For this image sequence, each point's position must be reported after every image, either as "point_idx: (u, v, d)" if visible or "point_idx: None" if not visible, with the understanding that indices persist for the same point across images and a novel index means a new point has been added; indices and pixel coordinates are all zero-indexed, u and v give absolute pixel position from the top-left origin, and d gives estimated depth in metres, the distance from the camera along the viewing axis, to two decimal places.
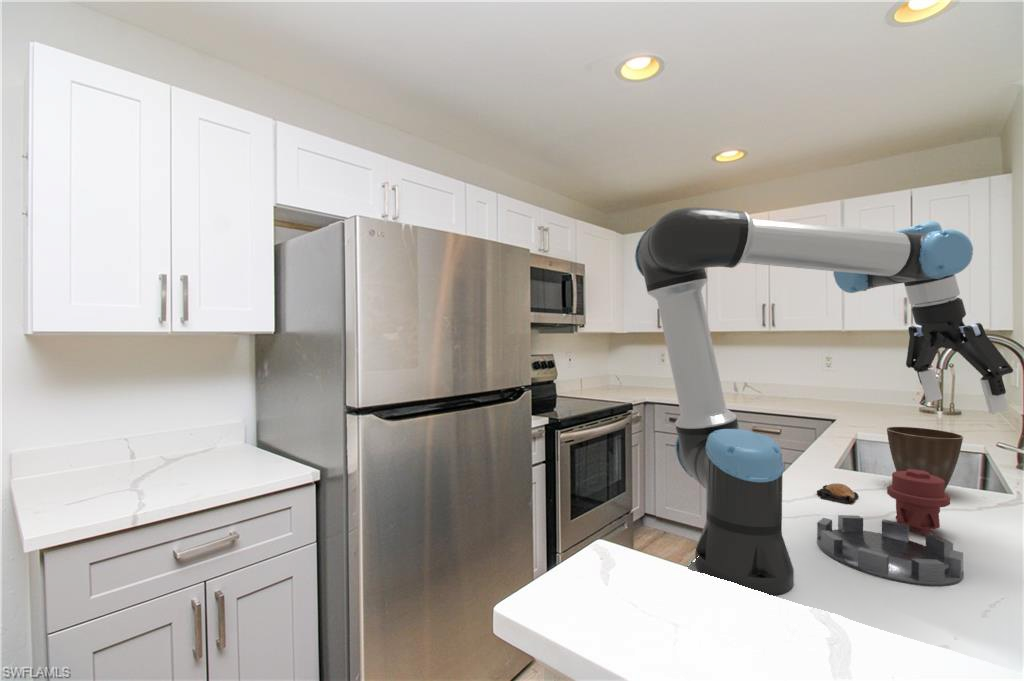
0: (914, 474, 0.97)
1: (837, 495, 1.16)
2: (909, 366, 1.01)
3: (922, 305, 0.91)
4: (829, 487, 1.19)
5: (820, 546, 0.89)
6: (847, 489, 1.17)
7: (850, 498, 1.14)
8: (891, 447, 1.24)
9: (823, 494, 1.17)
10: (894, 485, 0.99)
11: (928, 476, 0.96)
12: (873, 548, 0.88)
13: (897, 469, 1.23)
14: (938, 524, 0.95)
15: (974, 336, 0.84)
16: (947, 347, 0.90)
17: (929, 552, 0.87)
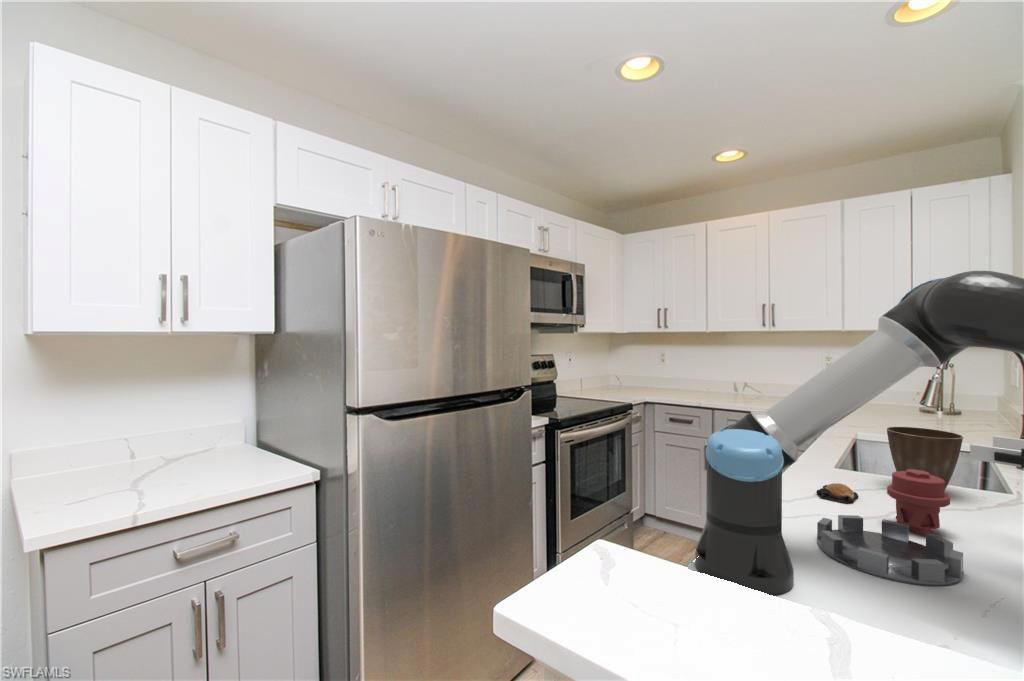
0: (914, 474, 0.97)
1: (836, 495, 1.16)
2: None
3: None
4: (829, 487, 1.19)
5: (820, 546, 0.89)
6: (847, 489, 1.17)
7: (849, 498, 1.14)
8: (891, 447, 1.24)
9: (822, 494, 1.18)
10: (894, 485, 0.99)
11: (928, 476, 0.96)
12: (873, 548, 0.88)
13: (897, 469, 1.23)
14: (938, 524, 0.95)
15: None
16: None
17: (929, 552, 0.87)
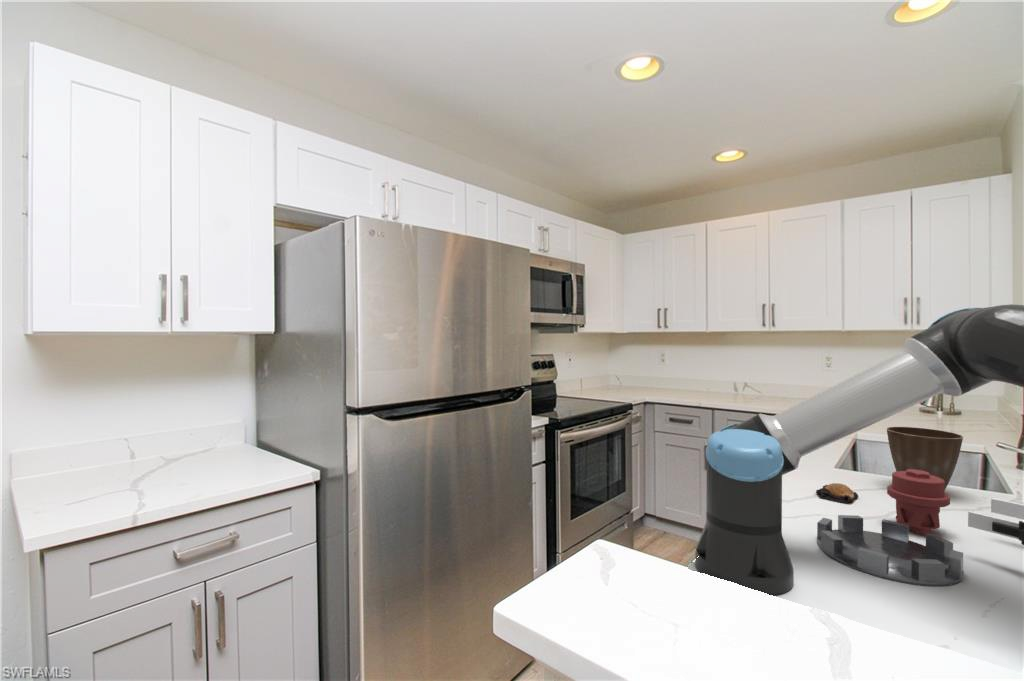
0: (914, 474, 0.97)
1: (836, 495, 1.16)
2: None
3: None
4: (828, 487, 1.19)
5: (820, 546, 0.89)
6: (846, 489, 1.17)
7: (849, 498, 1.14)
8: (891, 447, 1.24)
9: (822, 494, 1.18)
10: (894, 485, 0.99)
11: (928, 476, 0.96)
12: (873, 548, 0.88)
13: (897, 469, 1.23)
14: (938, 524, 0.95)
15: None
16: None
17: (929, 552, 0.87)
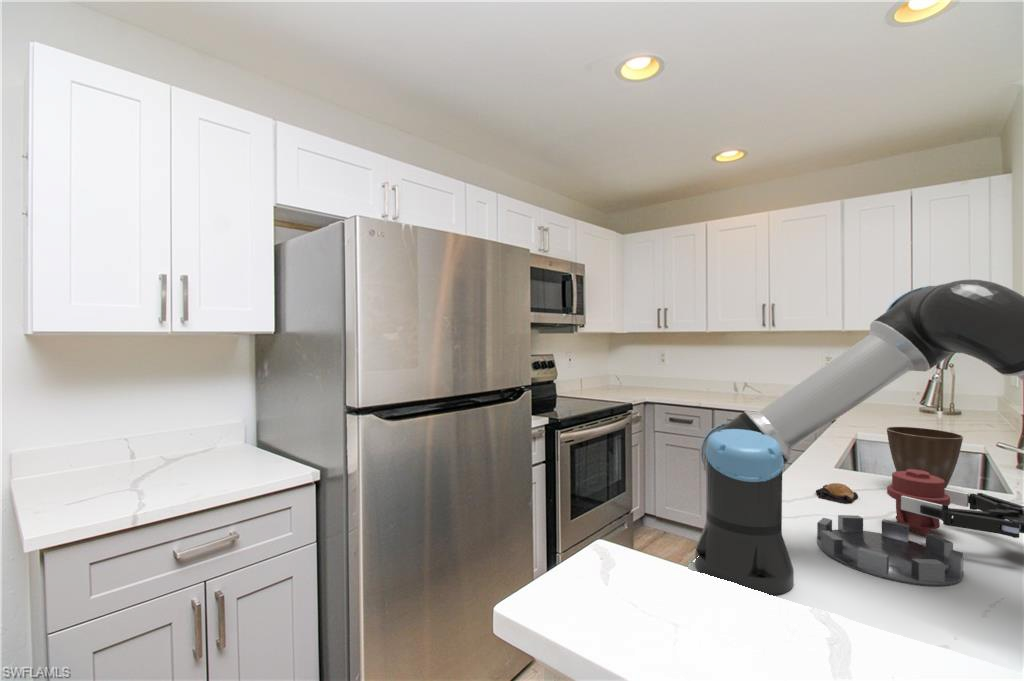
0: (914, 474, 0.97)
1: (835, 495, 1.16)
2: (978, 493, 0.97)
3: None
4: (828, 487, 1.19)
5: (820, 546, 0.89)
6: (846, 489, 1.17)
7: (848, 498, 1.14)
8: (891, 447, 1.24)
9: (821, 493, 1.18)
10: (894, 485, 0.99)
11: (928, 476, 0.96)
12: (873, 548, 0.88)
13: (897, 469, 1.23)
14: (938, 524, 0.95)
15: (1001, 523, 0.83)
16: None
17: (929, 552, 0.87)
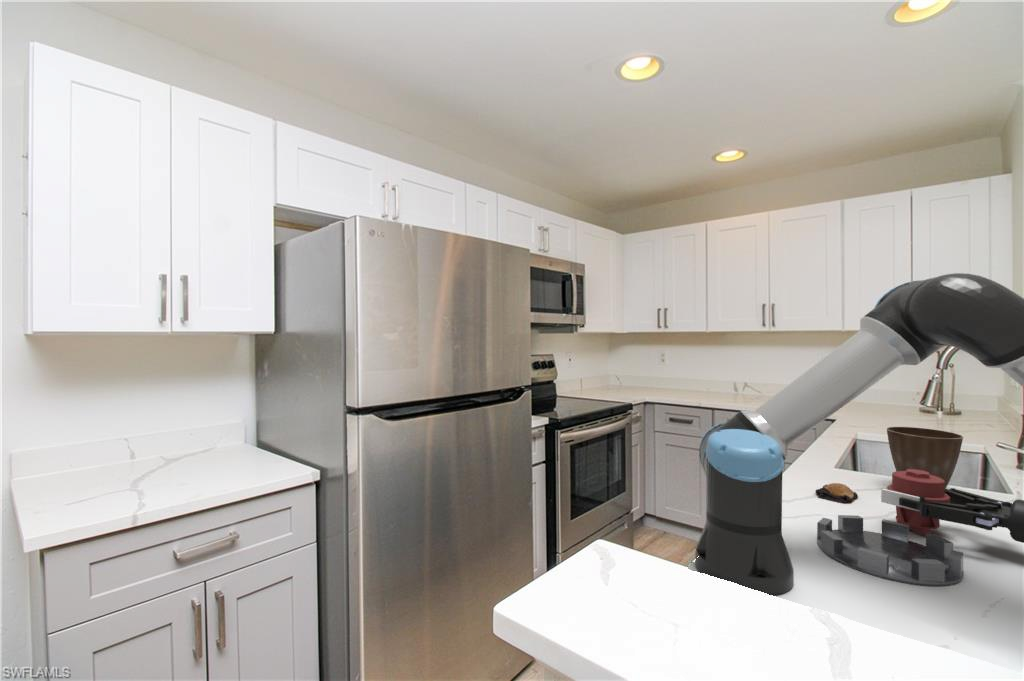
0: (914, 474, 0.97)
1: (835, 495, 1.17)
2: (951, 489, 0.99)
3: None
4: (828, 486, 1.19)
5: (820, 546, 0.89)
6: (846, 489, 1.17)
7: (848, 498, 1.14)
8: (891, 447, 1.24)
9: (821, 493, 1.18)
10: (894, 485, 0.99)
11: (928, 476, 0.96)
12: (873, 548, 0.88)
13: (897, 469, 1.23)
14: (938, 524, 0.95)
15: (975, 515, 0.86)
16: None
17: (929, 552, 0.87)
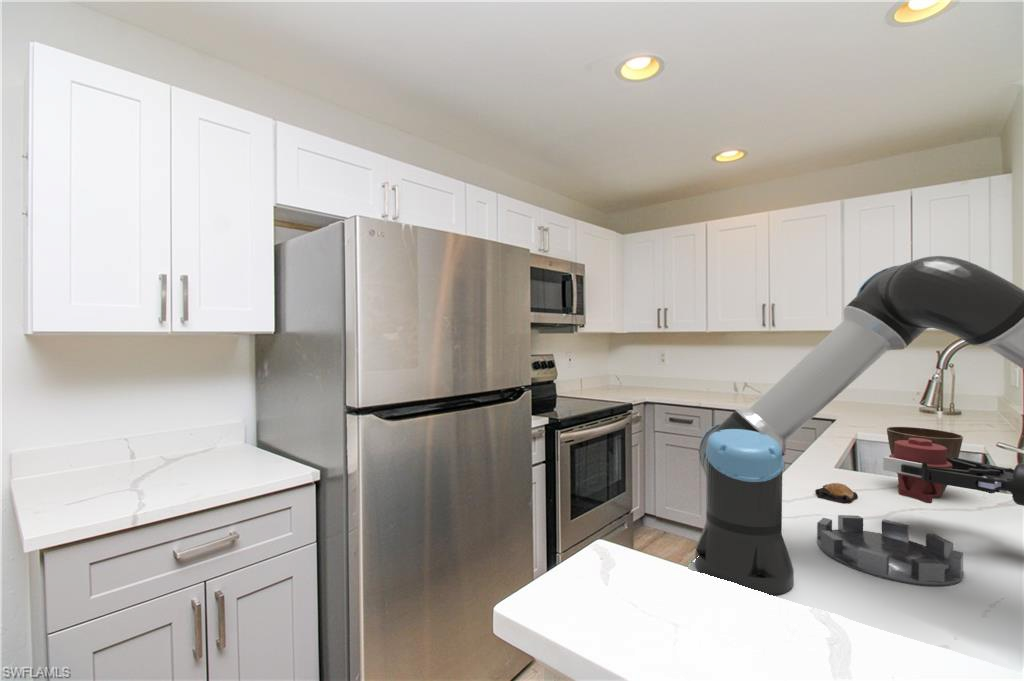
0: (916, 442, 0.97)
1: (834, 495, 1.17)
2: (953, 457, 0.99)
3: None
4: (827, 486, 1.19)
5: (820, 546, 0.89)
6: (845, 489, 1.17)
7: (847, 498, 1.14)
8: (891, 447, 1.24)
9: (820, 493, 1.18)
10: (896, 453, 0.99)
11: (930, 443, 0.96)
12: (873, 548, 0.88)
13: None
14: (940, 491, 0.95)
15: (977, 479, 0.85)
16: None
17: (929, 552, 0.87)
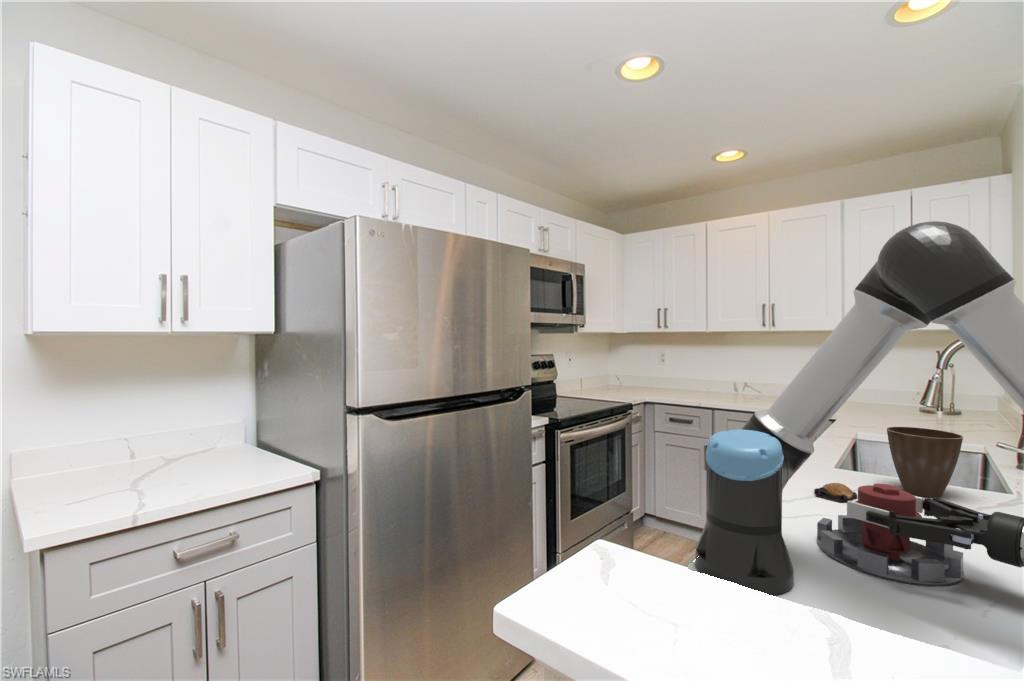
0: (882, 490, 0.85)
1: (833, 494, 1.17)
2: (934, 498, 0.87)
3: None
4: (826, 486, 1.20)
5: (820, 546, 0.89)
6: (844, 489, 1.17)
7: (845, 497, 1.15)
8: (891, 447, 1.24)
9: (819, 492, 1.19)
10: (859, 501, 0.87)
11: (897, 492, 0.84)
12: None
13: (897, 469, 1.23)
14: (908, 547, 0.83)
15: (952, 532, 0.73)
16: None
17: (929, 552, 0.87)
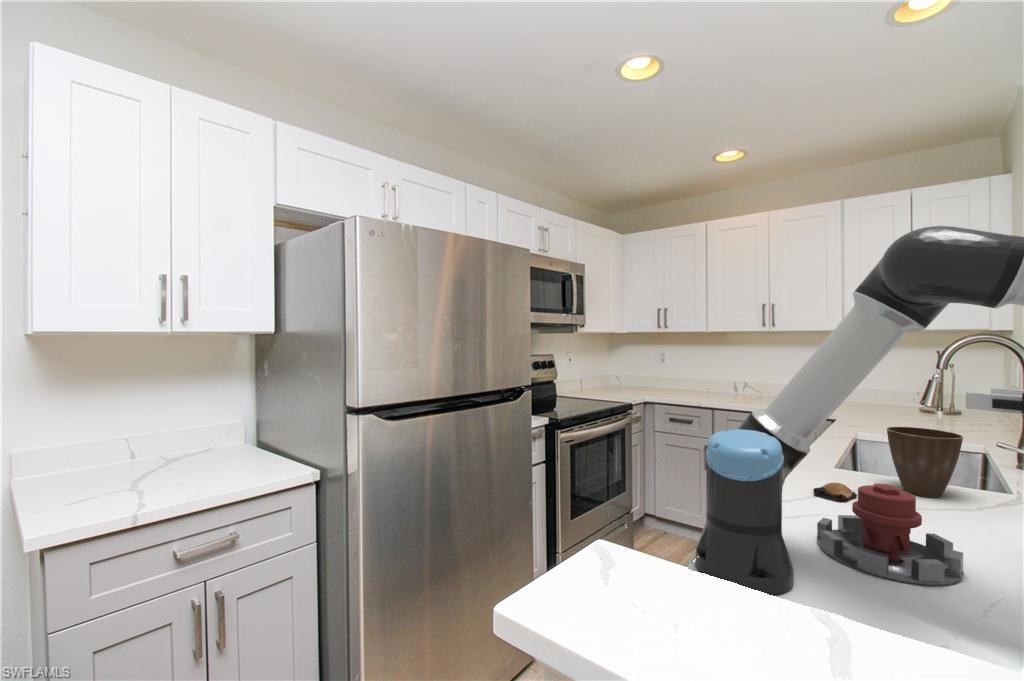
0: (882, 490, 0.85)
1: (831, 494, 1.17)
2: None
3: None
4: (826, 485, 1.20)
5: (820, 546, 0.89)
6: (843, 488, 1.17)
7: (843, 497, 1.15)
8: (891, 447, 1.24)
9: (817, 492, 1.19)
10: (859, 501, 0.87)
11: (897, 492, 0.84)
12: None
13: (897, 469, 1.23)
14: (908, 547, 0.83)
15: None
16: None
17: (929, 552, 0.87)
